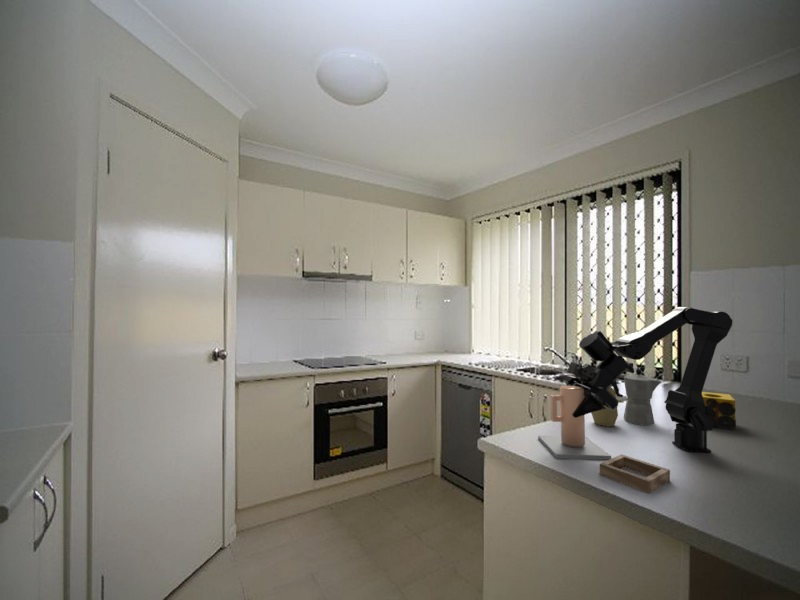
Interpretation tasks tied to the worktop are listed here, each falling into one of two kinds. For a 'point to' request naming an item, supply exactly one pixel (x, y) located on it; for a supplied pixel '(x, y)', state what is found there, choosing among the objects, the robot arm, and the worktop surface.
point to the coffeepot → (638, 397)
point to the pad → (573, 449)
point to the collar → (648, 484)
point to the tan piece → (569, 415)
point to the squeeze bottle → (606, 414)
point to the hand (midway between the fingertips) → (567, 413)
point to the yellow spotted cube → (720, 410)
